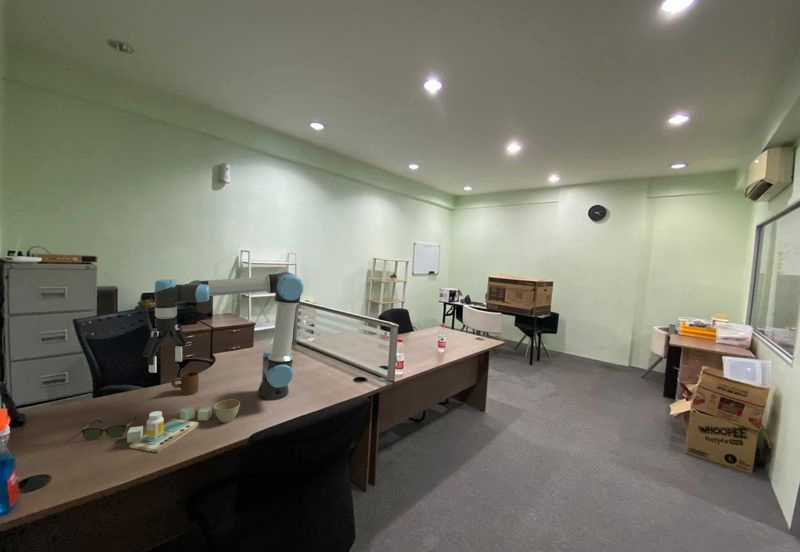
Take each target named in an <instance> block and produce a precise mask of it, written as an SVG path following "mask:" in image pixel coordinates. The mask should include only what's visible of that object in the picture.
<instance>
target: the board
mask: <svg viewBox="0 0 800 552" xmlns="http://www.w3.org/2000/svg"><path fill="white" fill-rule="evenodd" d="M199 426H200V423H199V422H198V421H191V420H187V421H186V420H182V419H180V418H172V419H170V420H169V421H167V422H166V423H164V432H163V437H162V438H160V439H158V440H155V441H148V440H147V439H146V434H145V435H143V436H142V437H141V438H140V439H138V440H136V441H135V442H130V444H129V448H130V449H134V450H142V451H147V452H151V451H152V452H151V453H160V452H161V451H163V450H164V449H165V448H167V447H169V446H170V445H172V444H173V443H174V442H176V441H178V440H179V439H180V438H182V437H184V436H185V435H186V434H188V433H190V432H191V431H193V430H194V429H195V428H196V427H197V428H198V427H199Z"/></svg>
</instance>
